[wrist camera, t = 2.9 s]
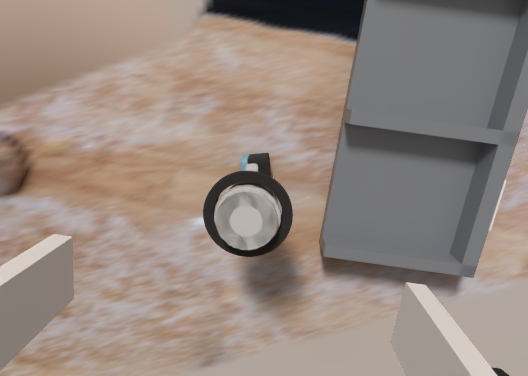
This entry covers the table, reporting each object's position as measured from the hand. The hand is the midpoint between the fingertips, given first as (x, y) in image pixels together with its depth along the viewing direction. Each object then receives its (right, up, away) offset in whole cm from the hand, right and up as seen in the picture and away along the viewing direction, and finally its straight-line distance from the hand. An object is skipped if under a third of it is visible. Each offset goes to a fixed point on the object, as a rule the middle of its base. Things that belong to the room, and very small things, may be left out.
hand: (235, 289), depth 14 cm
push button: (+1, +4, +16) cm, 17 cm away
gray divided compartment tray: (+13, +9, +14) cm, 21 cm away
